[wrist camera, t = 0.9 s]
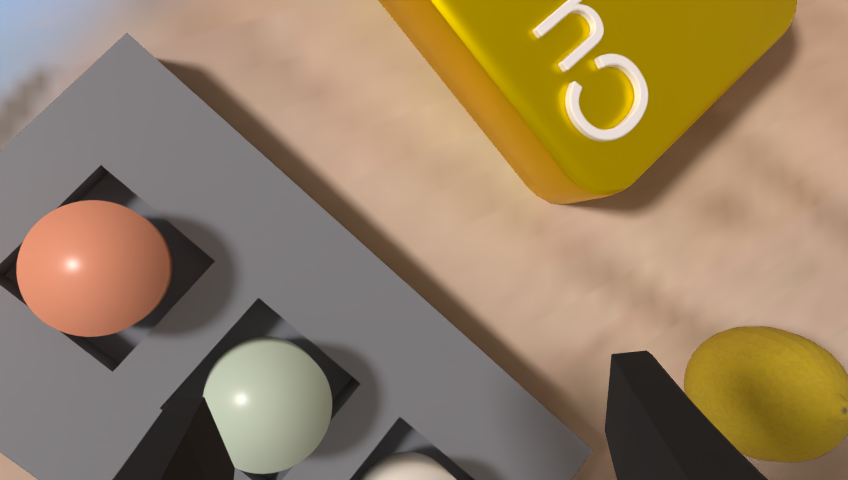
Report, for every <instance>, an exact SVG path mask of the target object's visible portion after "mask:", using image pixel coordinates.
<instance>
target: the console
mask: <svg viewBox="0 0 848 480" xmlns="http://www.w3.org/2000/svg"><path fill="white" fill-rule="evenodd" d="M87 200H100V201H107V202H112V203H116V204H119V205H122V206H124V207H127V208H129V209H130V210H132V211H134V212H136V213H137V214H139V215H141V216H142V217H144V218H146V219H147V220H148V221H150V222H151V223H152V224H153V225H155V226H156V227H157V228H158V230H159V231H160V232H161V233H162V234H163V236H164V238H165V239H166V241H167V243H168V245H169V248H170V251H171V254H172V260H173V274H172V280H171V284H170V287H169V289H168V291H167V294H166V295H165V297H164V299H163V300H162V302H161V303H160V304H159V305H158V307H157V308H156V309H155V310H154V311H152V312H151V313H150V314H149V315H147V316H146V317H145V318H143V319H142V320H140V321H138V322H137V323H135V324H133V325H132V326H130V327H128V328H126V329H124V330H121V331H119V332H117V333H113V334H109V335H104V336H98V337H84V336H76V335H71V334H67V333H64V332H61V331H59V330H57V329H55V328H53V327H51V326H49V325H48V324H46V323H45V322H43V321H42V320H41V319H39V318H38V317H37V316H36V315H35V314H34V313H33V312H32V310H31V309H30V308H29V307H28V305H27V304H26V302H25V300H24V299H23V296H22V294H21V292H20V289H19V285H18V281H17V273H16V271H17V259H18V254H19V251H20V248H21V245H22V243H23V241H24V239H25V237H26V236H27V234H28V233H29V231H30V230H31V229H32V227H33V226H34V225H35V224H36V223H37V222H38V221H39V220H40V219H42V218H43V217H44V216H45V215H47V214H48V213H50V212H51V211H53V210H55V209H57V208H59V207H61V206H64V205H67V204H70V203H74V202H79V201H87ZM260 336H271V337H278V338H283V339H285V340H288V341H291V342H292V343H294V344H296V345H298V346H299V347H300V348H302V349H303V350H304V351H305V352H306V353H307V354H308V355H309V356H310V357H311V358H312V359H313V360H314V361H315V362H316V363H317V365H318V366H319V367H320V368H321V370H322V371H323V373H324V375H325V376H326V378H327V381H328V383H329V386H330V390H331V395H332V414H331V419H330V423H329V426H328V429H327V431H326V433H325V435H324V437H323V439H322V441H321V442H320V443H319V445H318V446H317V448H316V449H315V450H314V451H313V452H312V453H311V454H310V455H309V456H308V457H306V458H305V459H304V460H303V461H301V462H300V463H298V464H296V465H294V466H292V467H290V468H288V469H285V470H283V471H279V472H275V473H267V474H256V473H249V472H245V471H242V470H239V469H237V468H235V472H234V480H360V479H361V477H362V476H363V474H364V473H365V472H366V471H367V470H368V469H369V468H370V467H371V466H372V465H373V464H374V463H376V462H377V461H379V460H380V459H382V458H384V457H386V456H389V455H391V454H394V453H399V452H417V453H421V454H424V455H427V456H429V457H431V458H433V459H434V460H435V461H437V462H438V463H439V464H440V465H441V466H442V467H444V468H445V469H446V470H447V471H448V472H449V473H450V474H451V475H452V476H453V477H454V478H455V479H457V480H572V479H573V477H574V476H575V475H576V473H577V472H578V470H579V469H580V467H581V466H582V465H583V463H584V462H585V460H586V459H587V458H588V456H589V455H590V453H591V452H592V449H591V448H590V447H589V446H588V445H587V444H585V443H584V442H583V441H582V440H581V439H580V438H579V437H578V436H577V435H575V434H574V433H573V432H572V431H571V430H570V429H569V428H568V427H566V426H565V425H564V424H563V423H562V422H561V421H560V420H559V419H558V418H556V417H555V416H554V415H553V414H552V413H551V412H550V411H549V410H547V409H546V408H545V407H544V406H543V405H542V404H541V403H540V402H539V401H537V400H536V399H535V398H534V397H533V396H532V395H531V394H530V393H529V392H527V391H526V390H525V389H524V388H523V387H522V386H521V385H520V384H518V383H517V382H516V381H515V380H514V379H513V378H512V377H511V376H510V375H508V374H507V373H506V372H505V371H504V370H503V369H502V368H501V367H499V366H498V365H497V364H496V363H495V362H494V361H493V360H492V359H491V358H489V357H488V356H487V355H486V354H485V353H484V352H483V351H482V350H481V349H479V348H478V347H477V346H476V345H475V344H474V343H473V342H472V341H470V340H469V339H468V338H467V337H466V336H465V335H464V334H463V333H462V332H460V331H459V330H458V329H457V328H456V327H455V326H454V325H453V324H451V323H450V322H449V321H448V320H447V319H446V318H445V317H444V316H443V315H441V314H440V313H439V312H438V311H437V310H436V309H435V308H434V307H433V306H431V305H430V304H429V303H428V302H427V301H426V300H425V299H424V298H422V297H421V296H420V295H419V294H418V293H417V292H416V291H415V290H414V289H412V288H411V287H410V286H409V285H408V284H407V283H406V282H405V281H403V280H402V279H401V278H400V277H399V276H398V275H397V274H396V273H395V272H393V271H392V270H391V269H390V268H389V267H388V266H387V265H386V264H385V263H383V262H382V261H381V260H380V259H379V258H378V257H377V256H376V255H374V254H373V253H372V252H371V251H370V250H369V249H368V248H367V247H366V246H364V245H363V244H362V243H361V242H360V241H359V240H358V239H357V238H355V237H354V236H353V235H352V234H351V233H350V232H349V231H348V230H347V229H345V228H344V227H343V226H342V225H341V224H340V223H339V222H338V221H337V220H335V219H334V218H333V217H332V216H331V215H330V214H329V213H328V212H326V211H325V210H324V209H323V208H322V207H321V206H320V205H319V204H318V203H316V202H315V201H314V200H313V199H312V198H311V197H310V196H309V195H307V194H306V193H305V192H304V191H303V190H302V189H301V188H300V187H299V186H297V185H296V184H295V183H294V182H293V181H292V180H291V179H290V178H289V177H287V176H286V175H285V174H284V173H283V172H282V171H281V170H280V169H278V168H277V167H276V166H275V165H274V164H273V163H272V162H271V161H270V160H268V159H267V158H266V157H265V156H264V155H263V154H262V153H261V152H259V151H258V150H257V149H256V148H255V147H254V146H253V145H252V144H251V143H249V142H248V141H247V140H246V139H245V138H244V137H243V136H242V135H241V134H239V133H238V132H237V131H236V130H235V129H234V128H233V127H232V126H230V125H229V124H228V123H227V122H226V121H225V120H224V119H223V118H222V117H220V116H219V115H218V114H217V113H216V112H215V111H214V110H213V109H211V108H210V107H209V106H208V105H207V104H206V103H205V102H204V101H203V100H201V99H200V98H199V97H198V96H197V95H196V94H195V93H194V92H193V91H191V90H190V89H189V88H188V87H187V86H186V85H185V84H184V83H182V82H181V81H180V80H179V79H178V78H177V77H176V76H175V75H174V74H172V73H171V72H170V71H169V70H168V69H167V68H166V67H165V66H163V65H162V64H161V63H160V62H159V61H158V60H157V59H156V58H155V57H153V56H152V55H151V54H150V53H149V52H148V51H147V50H146V49H145V48H143V47H142V46H141V45H140V44H139V43H138V42H137V41H136V40H134V39H133V38H132V37H131V36H130V35H129V34H128V33H126V34H125V35H124V36H123V37H122V38H121V39H120V40H118V41H117V42H116V43H115V44H114V45H113V46H112V47H111V48H110V49H109V50H108V51H107V52H106V53H105V54H104V55H102V56H101V57H100V58H99V59H98V60H97V61H96V62H95V63H94V64H93V65H92V66H91V67H90V68H89V69H87V70H86V71H85V72H84V73H83V74H82V75H81V76H80V77H79V78H78V79H77V80H76V81H75V82H74V83H72V84H71V85H70V86H69V87H68V88H67V89H66V90H65V91H64V92H63V93H62V94H61V95H60V96H59V97H57V98H56V99H55V100H54V101H53V102H52V103H51V104H50V105H49V106H48V107H47V108H46V109H45V110H44V111H42V112H41V113H40V114H39V115H38V116H37V117H36V118H35V119H34V120H33V121H32V122H31V123H30V124H29V125H27V126H26V127H25V128H24V129H23V130H22V131H21V132H20V133H19V134H18V135H17V136H16V137H15V138H14V139H12V140H11V141H10V142H9V143H8V144H7V145H6V146H5V147H4V148H3V149H2V150H1V151H0V452H1V453H2V454H3V455H5V456H6V457H7V458H9V459H10V460H12V461H13V462H14V463H16V464H17V465H19V466H20V467H21V468H23V469H24V470H26V471H27V472H28V473H30V474H31V475H33V476H34V477H35V478H37V479H38V480H112V479H113V478H114V477H115V475H116V474H117V473H118V471H119V470H120V469H121V467H122V466H123V464H124V463H125V462H126V460H127V459H128V458H129V456H130V455H131V453H132V452H133V451H134V449H135V448H136V447H137V445H138V444H139V442H140V441H141V440H142V438H143V437H144V435H145V434H146V433H147V431H148V430H149V428H150V427H151V426H152V424H153V423H154V421H155V420H156V419H157V417H158V416H159V415H160V413H161V412H162V410H163V409H164V408H165V406H166V405H167V404H168V403H169V402H170V400H179V399H189V398H198V397H203V393H204V387H205V383H206V380H207V377H208V375H209V372H210V370H211V369H212V367H213V365H214V364H215V362H216V361H217V360H218V358H219V357H220V356H221V355H222V354H223V353H224V352H226V351H227V350H228V349H229V348H231V347H232V346H234V345H236V344H237V343H239V342H242V341H244V340H247V339H250V338H254V337H260Z"/></svg>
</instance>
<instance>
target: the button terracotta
mask: <svg viewBox="0 0 848 480" xmlns="http://www.w3.org/2000/svg"><path fill="white" fill-rule="evenodd" d="M16 273H17V281H18V285H19V289H20V292H21V294H22V296H23V299H24V300H25V302H26V304H27V305H28V307H29V308H30V309H31V310H32V312H33V313H34V314H35V315H36V316H37V317H38V318H39V319H41V320H42V321H43V322H45V323H46V324H48V325H49V326H51V327H53V328H55V329H57V330H59V331H61V332H64V333H67V334H71V335H76V336H84V337H98V336H104V335H109V334H113V333H117V332H119V331H121V330H124V329H126V328H128V327H130V326H132V325H133V324H135V323H137V322H138V321H140V320H142V319H143V318H145V317H146V316H147V315H149V314H150V313H151V312H152V311H154V310H155V309H156V308H157V307H158V305H159V304H160V303H161V302H162V300H163V299H164V297H165V295H166V294H167V291H168V289H169V287H170V284H171V280H172V274H173V260H172V254H171V251H170V248H169V245H168V243H167V241H166V239H165V238H164V236H163V234H162V233H161V232H160V231H159V230H158V228H157V227H156V226H155V225H153V224H152V223H151V222H150V221H148V220H147V219H146V218H144V217H142V216H141V215H139V214H137V213H136V212H134V211H132V210H130V209H129V208H127V207H124V206H122V205H119V204H116V203H112V202H107V201H100V200H87V201H79V202H74V203H70V204H67V205H64V206H61V207H59V208H57V209H55V210H53V211H51V212H50V213H48V214H47V215H45V216H44V217H43V218H42V219H40V220H39V221H38V222H37V223H36V224H35V225H34V226H33V227H32V229H31V230H30V231H29V233H28V234H27V236H26V237H25V239H24V241H23V243H22V245H21V248H20V251H19V254H18V259H17V271H16Z"/></svg>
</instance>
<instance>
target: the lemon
mask: <svg viewBox="0 0 848 480" xmlns="http://www.w3.org/2000/svg"><path fill="white" fill-rule="evenodd" d="M684 390H685V394H686V395H687V396H688V398H689V399H690V400H691V401H692V402H693V403H694V404H695V405H696V406H697V408H698V409H699V410H700V411H701V412H702V413H703V414H704V415H705V416H706V417H707V418H708V420H709V421H710V422H711V423H712V424H713V425H714V426H715V427H716V428H717V429H718V430H719V431H720V432H721V433H722V434H723V435H724V436H725V437H726V438H727V439H728V440H729V442H730V443H731V444H732V445H733V446H734V447H735V448H736V449H737V450H738V451H739V452H740V453H741V454H744V455H746V456H749V457H752V458H755V459H760V460H767V461H777V462H801V461H807V460H811V459H815V458H818V457H820V456H823V455H825V454H826V453H828V452H830V451H831V450H833V449H834V448H835V447H837V446H838V445H839V443H840V442H841V441H842V440H843V439H844V438H845V437H846V435H847V433H848V375H847V373H846V371H845V369H844V368H843V366H842V365H841V364H840V363H839V362H838V361H837V359H836V358H835V357H834V356H833V355H832V354H831V353H829V352H828V351H826V350H825V349H823V348H822V347H820V346H819V345H817V344H816V343H814V342H812V341H810V340H809V339H806V338H804V337H802V336H799V335H796V334H793V333H790V332H786V331H783V330H780V329H776V328H771V327H737V328H733V329H729V330H726V331H723V332H720V333H717V334H715V335H714V336H712V337H711V338H709V339H708V340H706V341H705V342H703V343H702V344H701V345H700V346H699V347H698V348H697V350H696V351H695V352H694V353H693V355H692V357H691V359H690V361H689V362H688V364H687V368H686V372H685V377H684Z"/></svg>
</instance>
